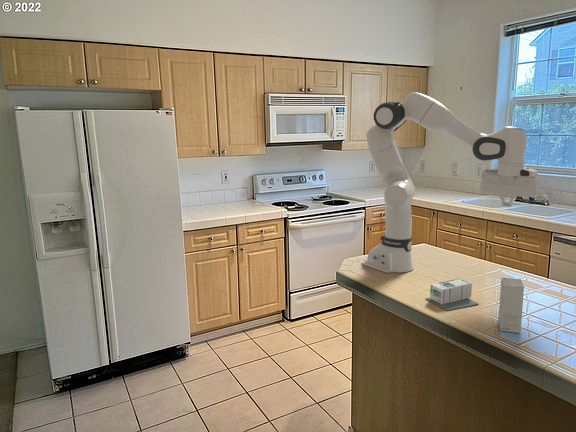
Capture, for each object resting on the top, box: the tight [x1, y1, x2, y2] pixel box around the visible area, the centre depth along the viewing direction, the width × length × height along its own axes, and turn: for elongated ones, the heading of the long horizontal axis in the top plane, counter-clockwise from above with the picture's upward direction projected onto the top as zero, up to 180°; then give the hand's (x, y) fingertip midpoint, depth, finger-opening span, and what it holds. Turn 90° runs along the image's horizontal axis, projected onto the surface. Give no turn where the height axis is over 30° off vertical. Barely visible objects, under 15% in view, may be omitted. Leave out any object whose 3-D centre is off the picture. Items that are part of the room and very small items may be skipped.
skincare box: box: [497, 277, 525, 334], centre depth 134 cm, size 8×6×15 cm
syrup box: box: [429, 278, 473, 304], centre depth 157 cm, size 6×6×14 cm
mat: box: [425, 297, 480, 312], centre depth 155 cm, size 11×14×1 cm
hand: (506, 206), depth 167 cm, fingers closed
